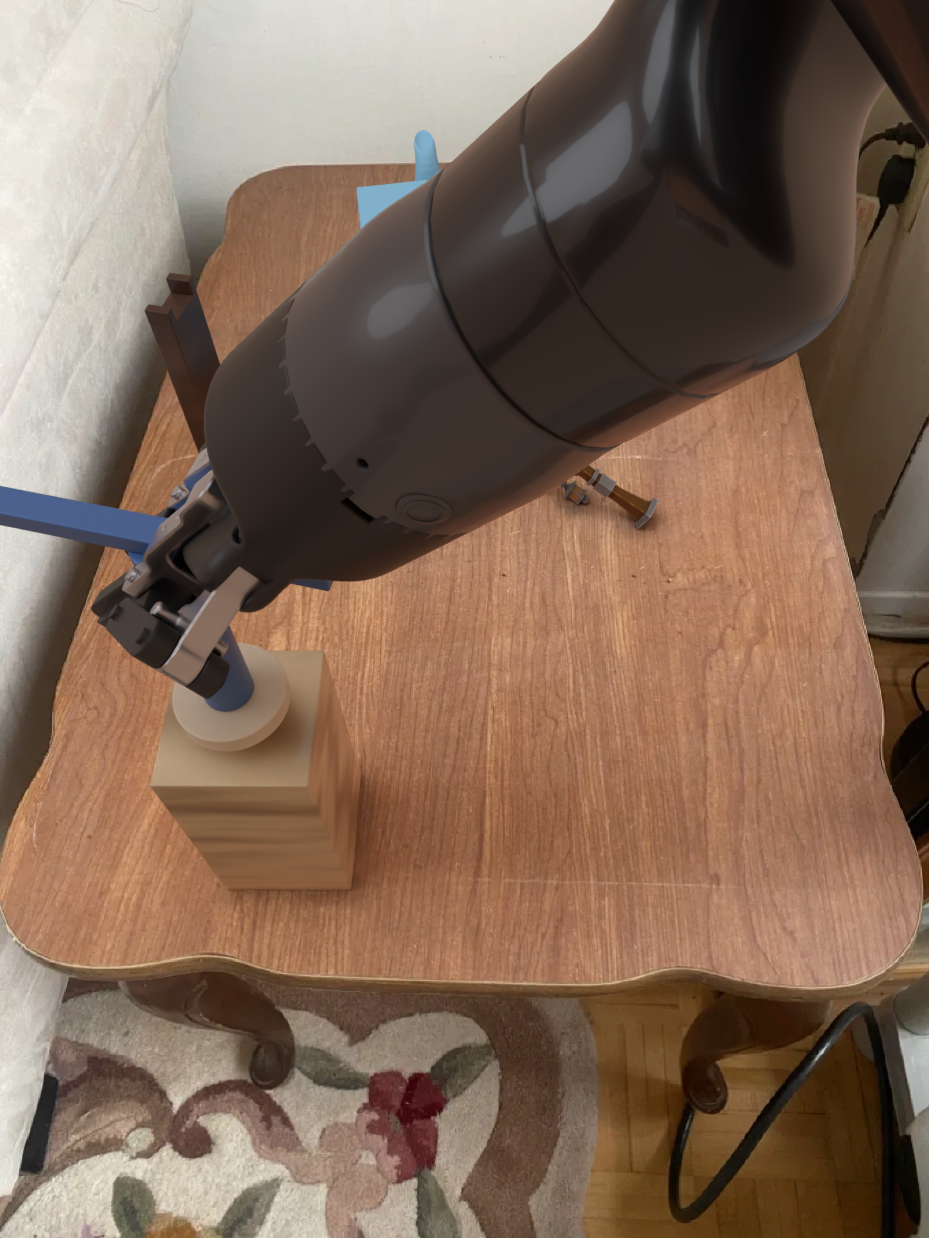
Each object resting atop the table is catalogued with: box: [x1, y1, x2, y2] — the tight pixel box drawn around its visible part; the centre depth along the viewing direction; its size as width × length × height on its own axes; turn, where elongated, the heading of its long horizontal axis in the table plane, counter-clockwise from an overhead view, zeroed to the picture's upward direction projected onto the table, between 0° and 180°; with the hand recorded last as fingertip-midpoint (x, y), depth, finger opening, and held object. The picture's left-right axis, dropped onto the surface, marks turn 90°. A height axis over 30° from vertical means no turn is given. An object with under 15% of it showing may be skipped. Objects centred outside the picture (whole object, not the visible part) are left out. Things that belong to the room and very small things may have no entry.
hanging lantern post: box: [559, 464, 660, 530], centre depth 67 cm, size 2×8×4 cm, turn 65°
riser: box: [149, 649, 362, 891], centre depth 49 cm, size 7×7×14 cm
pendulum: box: [0, 485, 334, 752], centre depth 37 cm, size 5×13×12 cm, turn 75°
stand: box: [144, 272, 221, 454], centre depth 62 cm, size 7×12×17 cm, turn 76°
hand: (134, 588), depth 36 cm, fingers closed on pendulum
